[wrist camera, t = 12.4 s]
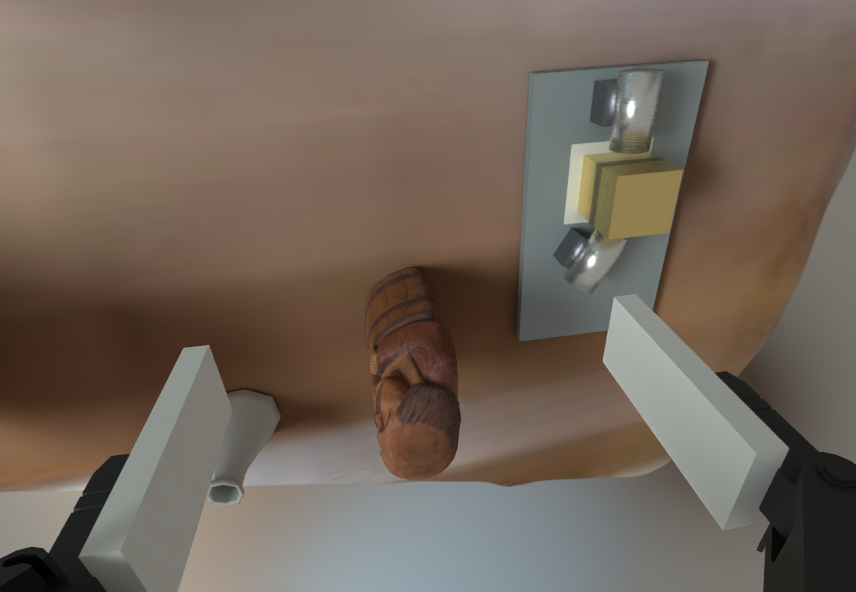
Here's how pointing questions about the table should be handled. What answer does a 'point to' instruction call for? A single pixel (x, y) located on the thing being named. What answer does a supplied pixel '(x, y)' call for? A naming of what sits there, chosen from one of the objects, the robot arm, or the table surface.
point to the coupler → (628, 194)
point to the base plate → (560, 185)
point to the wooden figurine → (412, 376)
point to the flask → (242, 443)
